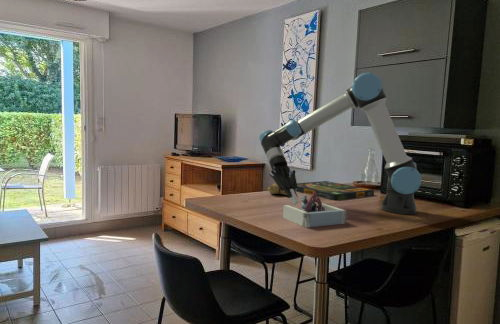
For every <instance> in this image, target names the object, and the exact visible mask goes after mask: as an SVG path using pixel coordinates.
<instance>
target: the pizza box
mask: <svg viewBox="0 0 500 324" xmlns="http://www.w3.org/2000/svg"><path fill="white" fill-rule="evenodd" d="M295 192H296V193H302V194H304V195H310V196H312V195H313V193H314V192H316V193H317V195H318V197H319V198H323V199H327V200H331V201H340V200H347V199H356V198H363V197H370V196H371V197H372V196H374V194H375V190H374V189H369V188H365V187H359V186H353V185H349V184H345V183H344V184H343V183H339V182H338V183H337V182H333V181H328V180H323V181H321V180H320V181H310V182H297V188H296V190H295Z"/></svg>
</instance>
